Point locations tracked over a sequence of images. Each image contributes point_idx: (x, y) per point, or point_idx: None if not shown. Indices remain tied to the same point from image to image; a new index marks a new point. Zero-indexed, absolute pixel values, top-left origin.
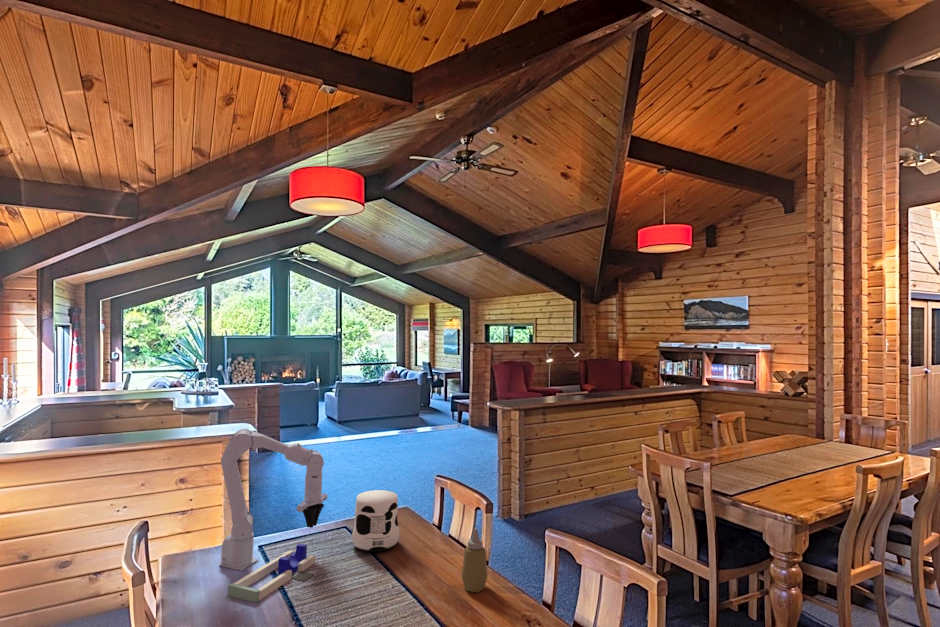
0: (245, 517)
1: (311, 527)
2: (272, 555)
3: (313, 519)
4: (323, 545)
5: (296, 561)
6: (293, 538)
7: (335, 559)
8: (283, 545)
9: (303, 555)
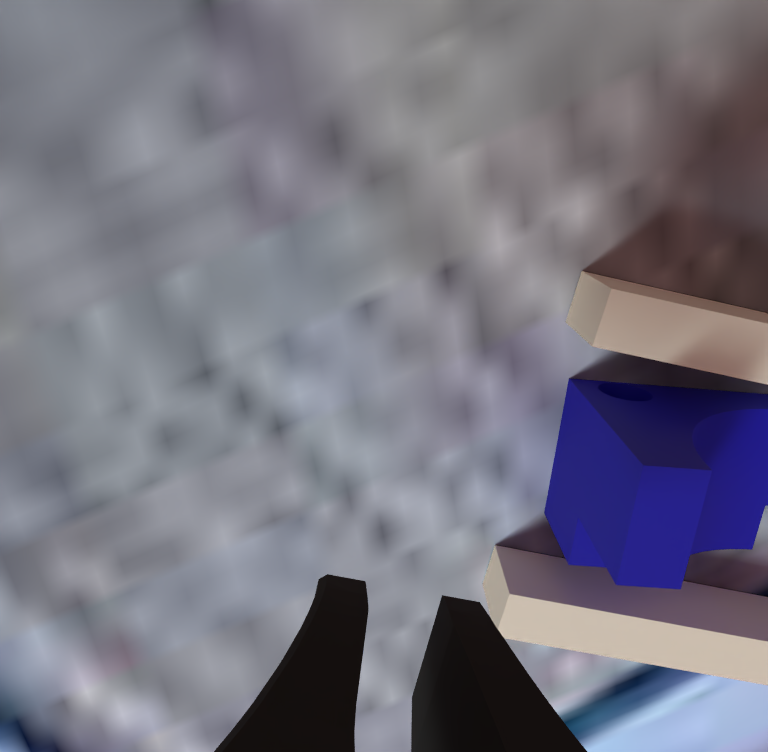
0: None
1: (485, 613)
2: None
3: (545, 730)
4: (96, 370)
5: (718, 455)
6: (33, 735)
7: (456, 42)
8: None
9: (681, 423)
